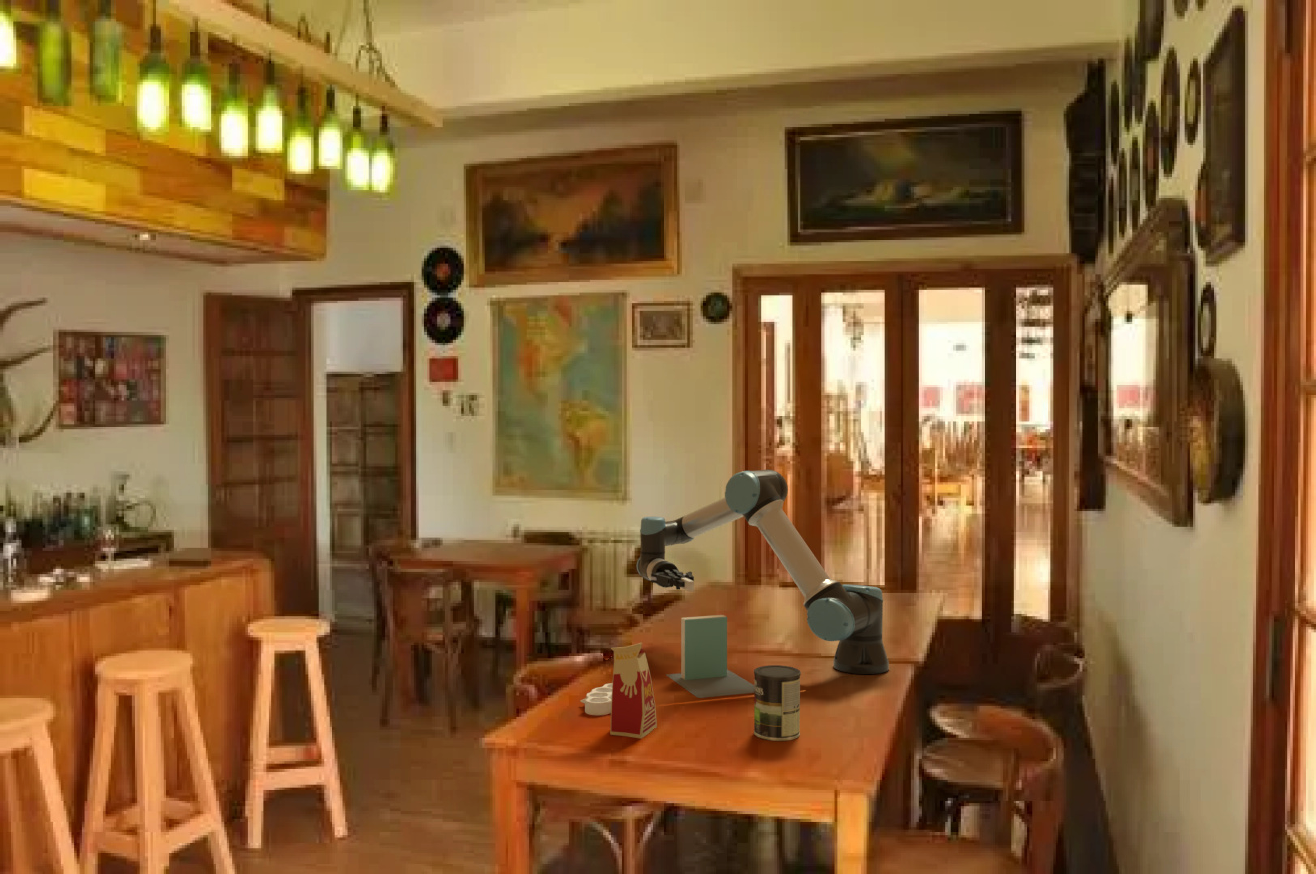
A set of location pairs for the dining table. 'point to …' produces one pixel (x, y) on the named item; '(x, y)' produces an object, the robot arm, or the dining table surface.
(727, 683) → the mat
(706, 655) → the tile
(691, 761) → the dining table surface
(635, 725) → the milk carton
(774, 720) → the coffee can
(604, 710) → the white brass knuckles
